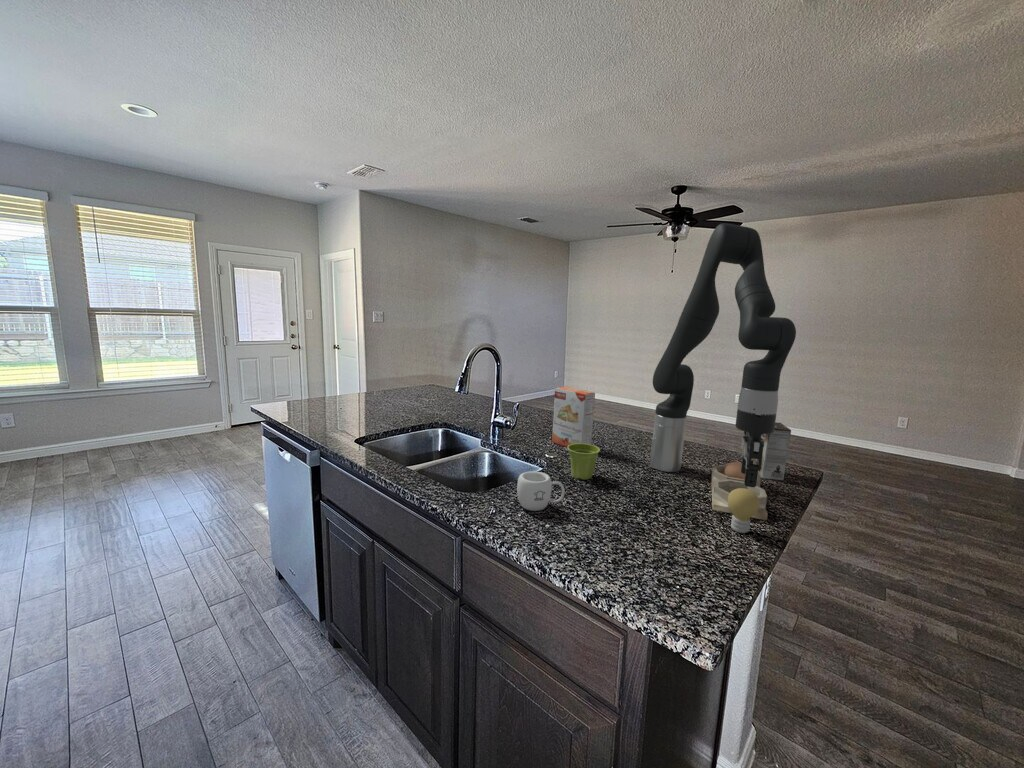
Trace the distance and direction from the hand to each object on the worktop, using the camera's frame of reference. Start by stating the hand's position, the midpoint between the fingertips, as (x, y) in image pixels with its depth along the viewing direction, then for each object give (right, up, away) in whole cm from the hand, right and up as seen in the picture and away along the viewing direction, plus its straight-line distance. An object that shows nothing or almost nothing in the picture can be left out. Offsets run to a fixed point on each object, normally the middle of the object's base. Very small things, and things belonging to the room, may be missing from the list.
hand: (747, 479), depth 98 cm
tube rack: (+8, -9, +22) cm, 25 cm away
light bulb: (-1, -12, +2) cm, 13 cm away
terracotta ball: (+11, -4, +27) cm, 30 cm away
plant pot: (-32, -6, +32) cm, 46 cm away
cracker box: (-32, -1, +61) cm, 68 cm away
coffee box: (+28, -7, +40) cm, 49 cm away
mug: (-46, -9, +11) cm, 48 cm away
